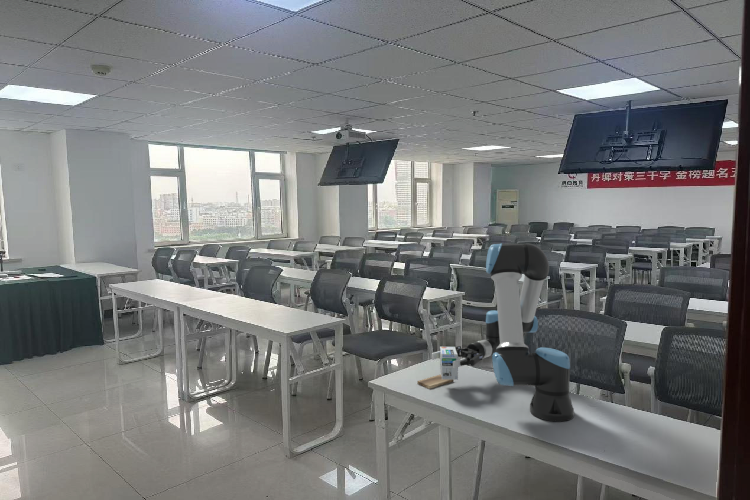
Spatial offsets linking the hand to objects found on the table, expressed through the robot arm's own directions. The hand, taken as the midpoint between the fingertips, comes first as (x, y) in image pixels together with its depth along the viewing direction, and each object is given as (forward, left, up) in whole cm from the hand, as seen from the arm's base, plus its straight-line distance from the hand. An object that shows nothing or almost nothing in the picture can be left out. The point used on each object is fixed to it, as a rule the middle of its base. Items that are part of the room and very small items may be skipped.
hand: (442, 360), depth 204 cm
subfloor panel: (+8, -3, -13) cm, 15 cm away
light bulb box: (0, -4, -7) cm, 8 cm away
